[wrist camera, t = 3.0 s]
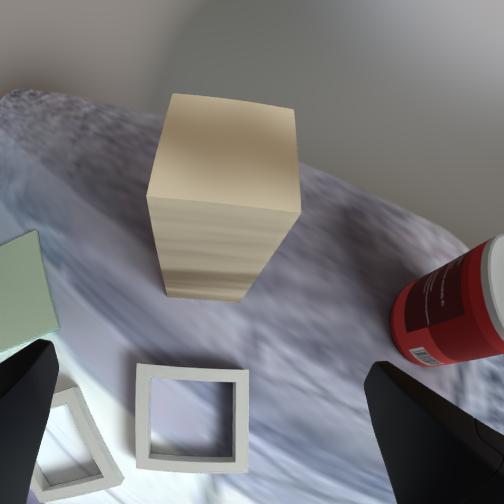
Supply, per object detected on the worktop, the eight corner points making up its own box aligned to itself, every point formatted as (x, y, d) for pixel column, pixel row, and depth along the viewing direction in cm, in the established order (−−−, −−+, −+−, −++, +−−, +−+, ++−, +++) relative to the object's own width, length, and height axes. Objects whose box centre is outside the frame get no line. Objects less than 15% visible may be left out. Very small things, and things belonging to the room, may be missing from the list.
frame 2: (244, 466, 18) (248, 472, 16) (139, 462, 17) (136, 468, 15) (244, 370, 20) (248, 369, 19) (140, 364, 19) (136, 363, 18)
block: (239, 302, 22) (301, 213, 10) (167, 296, 21) (146, 196, 10) (241, 237, 24) (293, 109, 12) (175, 230, 23) (172, 93, 11)
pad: (60, 328, 19) (58, 327, 18) (-18, 359, 16) (-21, 358, 16) (37, 231, 21) (35, 229, 21) (-34, 266, 18) (-36, 264, 18)
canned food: (458, 356, 24) (553, 331, 14) (395, 378, 22) (503, 363, 12) (442, 278, 27) (528, 231, 17) (379, 287, 25) (473, 232, 15)
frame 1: (124, 478, 16) (120, 484, 15) (47, 496, 14) (39, 502, 12) (79, 386, 18) (72, 387, 16) (6, 411, 15) (-4, 412, 14)
